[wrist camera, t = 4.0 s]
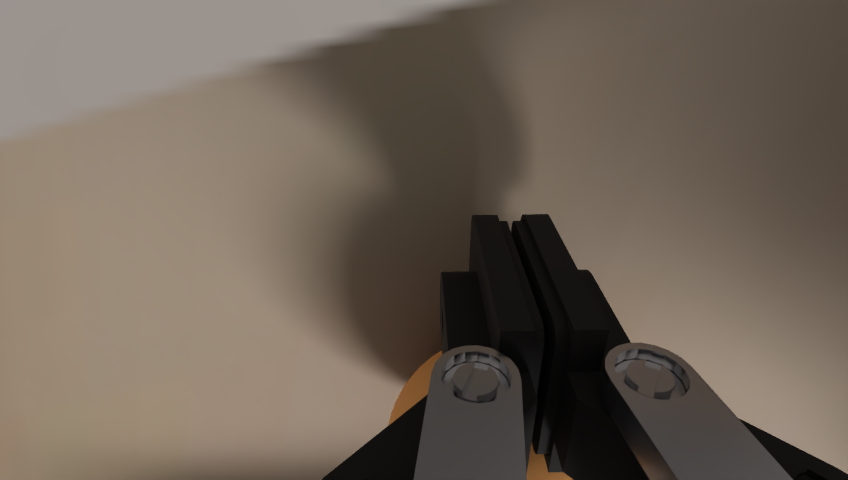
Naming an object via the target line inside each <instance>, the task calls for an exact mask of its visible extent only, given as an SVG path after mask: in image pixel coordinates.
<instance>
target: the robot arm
mask: <svg viewBox="0 0 848 480" xmlns="http://www.w3.org/2000/svg"><path fill="white" fill-rule="evenodd" d="M440 321H441V343H442V355H441V357H440V358H439V359H438V360H437V361H436V362H435V364H434V367H433V369H432V372H431V378H430V384H429V390H428V394H427V395H426V396H425V397H424V398H422V399H421V400H420V401H419V402H417V403H416V404H415V405H414V406H412V407H411V408H410V409H409V410H407V411H406V412H405V413H404V414H402V415H401V416H400V417H399V418H397V419H396V420H395V421H394V422H392V423H391V424H390V425H389V426H387V427H386V428H385V429H384V430H382V431H381V432H380V433H379V434H377V435H376V436H375V437H374V438H373V439H371V440H370V441H369V442H368V443H366V444H365V445H364V446H363V447H361V448H360V449H359V450H358V451H356V452H355V453H354V454H353V455H351V456H350V457H349V458H348V459H346V460H345V461H344V462H343V463H341V464H340V465H339V466H338V467H336V468H335V469H334V470H333V471H331V472H330V473H329V474H328V475H326V476H325V477H324V478H323V479H322V480H527V477H526V473H527V468H528V462H529V455H530V448H531V442H532V447H533V450H534V452H535V454H544V458H545V461H546V465H547V469H548V472H564V473H565V474H566V475H568V476H569V477H571V478H572V479H573V480H848V474H846V473H844V472H843V471H841V470H839V469H838V468H836V467H834V466H832V465H830V464H828V463H826V462H824V461H822V460H820V459H818V458H816V457H814V456H812V455H810V454H808V453H806V452H804V451H802V450H800V449H798V448H796V447H794V446H792V445H790V444H788V443H786V442H784V441H782V440H780V439H778V438H776V437H774V436H773V435H771V434H769V433H767V432H765V431H763V430H761V429H759V428H757V427H755V426H753V425H751V424H749V423H747V422H745V421H743V420H741V419H739V418H737V417H736V415H735V414H734V413H733V412H732V411H731V410H730V409H729V408H728V407H727V405H726V404H725V403H724V402H723V401H722V400H721V399H720V398H719V396H718V395H717V394H716V393H715V392H714V391H713V390H712V389H711V388H710V386H709V385H708V384H707V383H706V382H705V381H704V380H703V379H702V378H701V376H700V375H699V374H698V373H697V372H696V371H695V370H694V369H693V368H692V367H691V366H690V365H689V364H688V363H687V362H686V361H685V360H683V359H682V358H681V357H679V356H678V355H676V354H674V353H672V352H671V351H669V350H666V349H664V348H661V347H658V346H655V345H651V344H645V343H631V342H630V340H629V339H628V337H627V335H626V333H625V332H624V330H623V328H622V326H621V325H620V323H619V321H618V319H617V318H616V316H615V314H614V312H613V311H612V309H611V307H610V305H609V304H608V302H607V300H606V298H605V297H604V295H603V293H602V291H601V290H600V288H599V286H598V284H597V283H596V281H595V279H594V277H593V276H592V274H591V273H590V272H589V271H588V270H578V269H577V267H576V265H575V263H574V262H573V260H572V258H571V256H570V254H569V252H568V250H567V248H566V247H565V245H564V243H563V241H562V239H561V237H560V235H559V233H558V232H557V230H556V228H555V226H554V224H553V222H552V220H551V218H550V216H549V215H548V214H534V215H522V217H521V220H520V221H513V223H512V230H511V231H510V228H509V226H508V223H507V221H499V218H498V216H497V215H473V216H472V221H471V242H470V264H469V272H441V280H440Z"/></svg>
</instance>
